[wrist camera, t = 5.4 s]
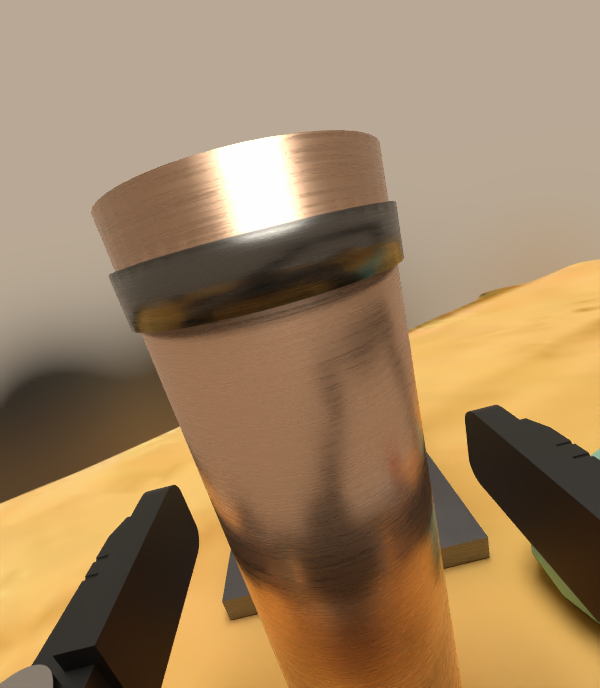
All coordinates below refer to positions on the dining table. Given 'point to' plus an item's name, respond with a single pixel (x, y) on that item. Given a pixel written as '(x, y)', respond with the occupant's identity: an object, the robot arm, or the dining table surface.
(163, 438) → the dining table surface
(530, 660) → the dining table surface
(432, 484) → the stove plate
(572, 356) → the dining table surface
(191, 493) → the dining table surface
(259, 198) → the metal tube
